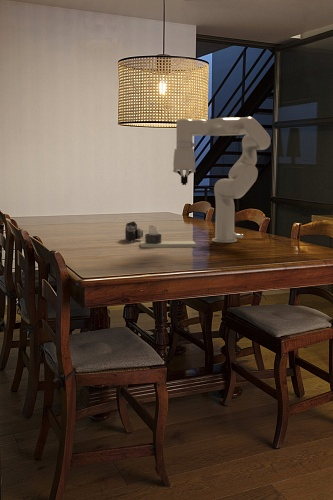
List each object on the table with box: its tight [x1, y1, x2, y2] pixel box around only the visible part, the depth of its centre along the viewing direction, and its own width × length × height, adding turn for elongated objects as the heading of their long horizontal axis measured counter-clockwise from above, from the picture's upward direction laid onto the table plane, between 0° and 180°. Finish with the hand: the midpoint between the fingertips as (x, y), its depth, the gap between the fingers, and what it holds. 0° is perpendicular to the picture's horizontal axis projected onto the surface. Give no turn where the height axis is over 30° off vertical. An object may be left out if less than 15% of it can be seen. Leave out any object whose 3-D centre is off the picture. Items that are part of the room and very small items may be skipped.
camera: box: [124, 221, 144, 244], centre depth 290 cm, size 16×8×10 cm, turn 11°
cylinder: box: [148, 224, 159, 235], centre depth 272 cm, size 4×4×7 cm
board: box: [140, 240, 197, 248], centre depth 273 cm, size 26×10×2 cm, turn 94°
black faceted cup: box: [144, 233, 162, 244], centre depth 272 cm, size 8×8×4 cm
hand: (184, 184), depth 273 cm, fingers closed
